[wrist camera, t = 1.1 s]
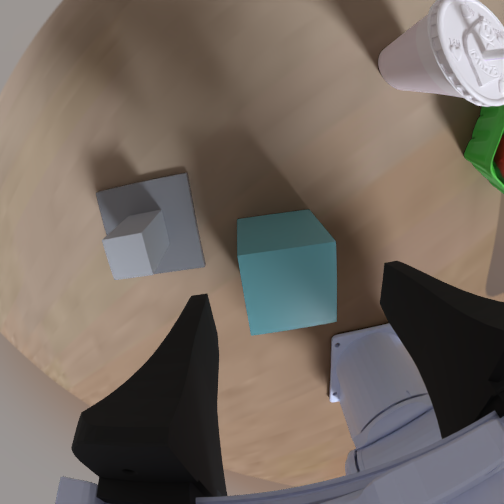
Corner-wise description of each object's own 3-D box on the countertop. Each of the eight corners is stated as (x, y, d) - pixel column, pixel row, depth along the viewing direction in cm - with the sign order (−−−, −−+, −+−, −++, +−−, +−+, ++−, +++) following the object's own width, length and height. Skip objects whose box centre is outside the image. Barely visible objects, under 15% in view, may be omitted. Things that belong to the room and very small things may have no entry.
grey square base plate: (205, 264, 23) (197, 302, 18) (122, 275, 23) (97, 313, 18) (187, 172, 20) (170, 186, 15) (98, 191, 21) (62, 211, 15)
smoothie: (353, 88, 19) (496, 57, 6) (369, 17, 16) (491, -56, 3) (424, 120, 19) (573, 140, 7) (437, 52, 17) (572, 31, 4)
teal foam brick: (313, 273, 24) (336, 321, 18) (247, 283, 24) (251, 335, 18) (309, 209, 22) (336, 241, 16) (237, 219, 22) (237, 255, 16)
